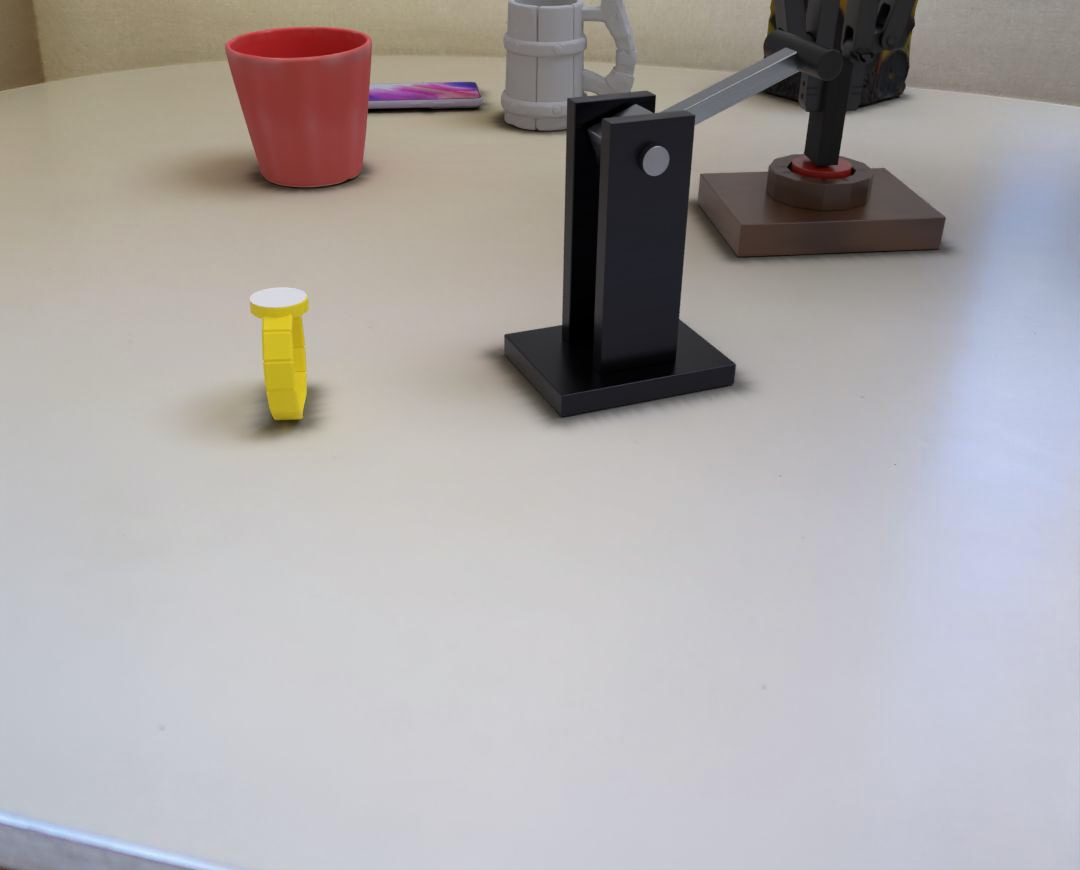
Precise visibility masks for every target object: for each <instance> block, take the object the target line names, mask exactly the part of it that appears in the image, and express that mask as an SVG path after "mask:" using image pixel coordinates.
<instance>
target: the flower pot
mask: <svg viewBox="0 0 1080 870" xmlns="http://www.w3.org/2000/svg"><path fill="white" fill-rule="evenodd" d="M224 50H225V55H226V59H227V64H228V67H229V70H230V74H231V77H232V81H233V84H234V87H235V91H236V95H237V98H238V101H239V105H240V107H241V112H242V115H243V118H244V121H245V122H244V123H245V125H246V127H247V131H248V134H249V138H250V141H251V144H252V147H253V151H254V154H255V158H256V161H257V164H258V166H259V170H260V173H261V176H262V177H263V178H264V179H265V180H266V181H268V182H270V183H272V184H275V185H277V186H278V185H279V186H285V187H293V188H317V187H327V186H333V185H337V184H341V183H344V182H346V181H347V180H348V179H349V180H351V179H354V178H356V177H357V176H359V175H360V173H361V172H362V170H363V164H364V155H365V148H366V147H365V146H366V136H367V127H368V125H367V124H368V116H369V115H368V113H369V109H368V102H369V88H370V84H371V71H372V70H371V69H372V54H373V53H372V51H373V41H372V38H371V37H370V35H368V34H367V33H365V32H362V31H360V30H359V31H358V30H354V29H350V28H342V27H334V26H333V27H331V26H292V27H278V28H277V27H276V28H269V29H261V30H256V31H251V32H245V33H243V34H239V35H237V36H234V37H232V38H230V39H229V40H227V42H226V43H225V45H224Z"/></svg>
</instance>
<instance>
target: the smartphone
mask: <svg viewBox="0 0 1080 870" xmlns="http://www.w3.org/2000/svg"><path fill="white" fill-rule="evenodd" d="M483 103H484V97H483V95H482V93H481V90H480V88H479V85H478V83H477V82H475V81H444V82H443V81H439V82H435V81H434V82H398V83H396V82H395V83H394V82H391V83H370V88H369V102H368V110H378V109H379V110H380V109H381V110H382V109H383V110H384V109H423V108H425V109H426V108H427V109H428V108H429V109H433V110H434V109H467V108H468V109H469V108H470V109H471V108H475V109H476V108H478V107H481V106H482V105H483Z"/></svg>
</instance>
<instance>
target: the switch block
mask: <svg viewBox="0 0 1080 870" xmlns="http://www.w3.org/2000/svg"><path fill="white" fill-rule="evenodd" d="M800 156H805V154H804V153H794V154H788V155H785V156H782V157H777V158H774V159H773V160H772V161H771V163H770V164H769V165H768V168H767V171H741V172H740V171H739V172H709V173H700V174H699V180H698V192H697V193H698V194H697V204H698V206H699V207H700V208H701V209H702V211H703V212H704V213H705V215H706V216H707V218H708V219H709V220H710V221H711V223H712V224H713V225H714V227H715V228H716V230H717V231H718V232H719V234H720V235H721V236H722V237H723V239H724V241H726V243H727V244H728V245H729V247H730V248H731V250H732V251H733V252H734V253H735V255H736V257H739V258H740V257H742V258H743V257H744V258H745V257H769V256H792V255H793V256H794V255H815V254H817V255H818V254H821V255H822V254H840V253H842V254H843V253H845V254H846V253H869V252H893V251H895V252H896V251H914V250H915V251H917V250H918V251H920V250H939V249H940V248H941V245H942V240H943V239H942V238H943V233H944V229H945V224H946V220H947V219H946V218H947V217H946V216H945V215H944V214H942V213H941V212H940V211H938V210H937V208H935V207H934V206H933V205H931V204H930V203H929V202H927V200H925V199H924V198H922V196H920V195H919V194H918V193H916V192H915V191H914V190H913V189H912V188H910V187H909V186H908V185H907V184H905V183H904V182H903V181H901V180H900V179H899V178H898V177H897V176H895V175H894V173H892V172H891V171H889V170H888V169H887V168H885V167H870V166H869V165H868V164H866V163H865V162H863V161H859V160H855V159H852V158H849V157H846V156H843V155H839V158H842V159H844V160H847V161H849V162H850V163H851V165H852V169H851V175H850V176H848V177H844V178H834V179H820V178H813V177H805V176H802V175H799V174H796V173H793V172H791V168H792V161H793V160H794V159H795V158H797V157H800Z"/></svg>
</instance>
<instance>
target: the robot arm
mask: <svg viewBox="0 0 1080 870" xmlns="http://www.w3.org/2000/svg"><path fill="white" fill-rule="evenodd" d="M879 1H880V3H879ZM915 1H916V0H847V4H846V11H845V18H844V25H843V32H842V39H841V49H842V59H843V64H842V68H841V71H840V72H839V74H838V75H837V76H836V77H835V78H834V79H832V80H829V81H824V80H821V79H819V78H816V77H814V76H811V75H809V74H806V73H804V72H802V75H801V82H800V83H801V84H800V90H799V98H798V99H799V101H798V103H799V107H800V108H802V109H803V110H804V111H805V112H807V113H808V122H807V128H806V137H805V144H804V150H803V154H805V155H806V156H807V157H808V158H809V159H810V160H811V161H812V162H813V163H814V164H815V165H816V166H825V165H838V161H839V156H840V153H841V147H842V140H843V134H844V128H845V121H846V114H847V112H856V111H857V110H858V108H859V107H860V106H859V104H860V101H861V93H862V87H863V82H864V76H865V69H866V64H869V63H871V62H872V61H873V59H874V58H875V55H876V53H879V52H882V51H884V50H887V51H891V50H893V49H895V48H896V47H897V46H898V44H899V42H900V40H901V37H902V34H903V32H904V29H905V27H906V24H907V22H908V19H909V16H910V14H911V11H912V9H913V6H914V4H915ZM839 5H840V0H809V1H808V8H807V16H806V21H805V10H804V0H774V7H775V17H776V26H777V30H782V31H785V32H788V33H791V34H793V35H796V36H799V37H802V38H804V39H807V40H810V41H813V42H816V43H818V44H821V45H824V46H827V47H829V48H832V49H833V46H834V39H835V33H836V26H837V19H838V12H839Z"/></svg>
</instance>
